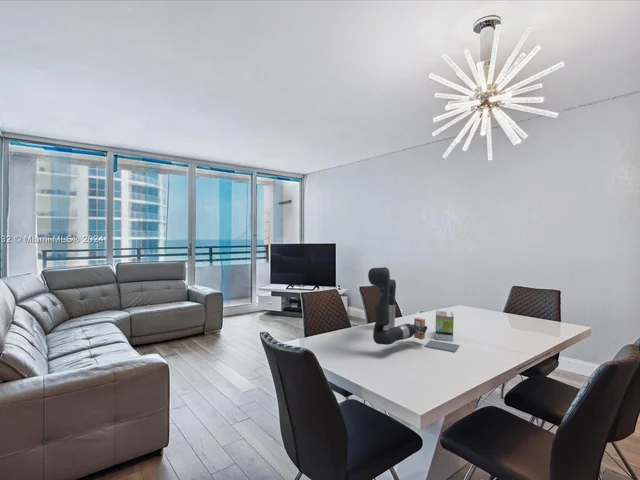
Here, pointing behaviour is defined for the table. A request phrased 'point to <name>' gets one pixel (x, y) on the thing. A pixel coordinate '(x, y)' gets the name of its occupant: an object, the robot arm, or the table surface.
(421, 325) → the card box
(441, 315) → the tea box
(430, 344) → the mat
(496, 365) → the table surface
